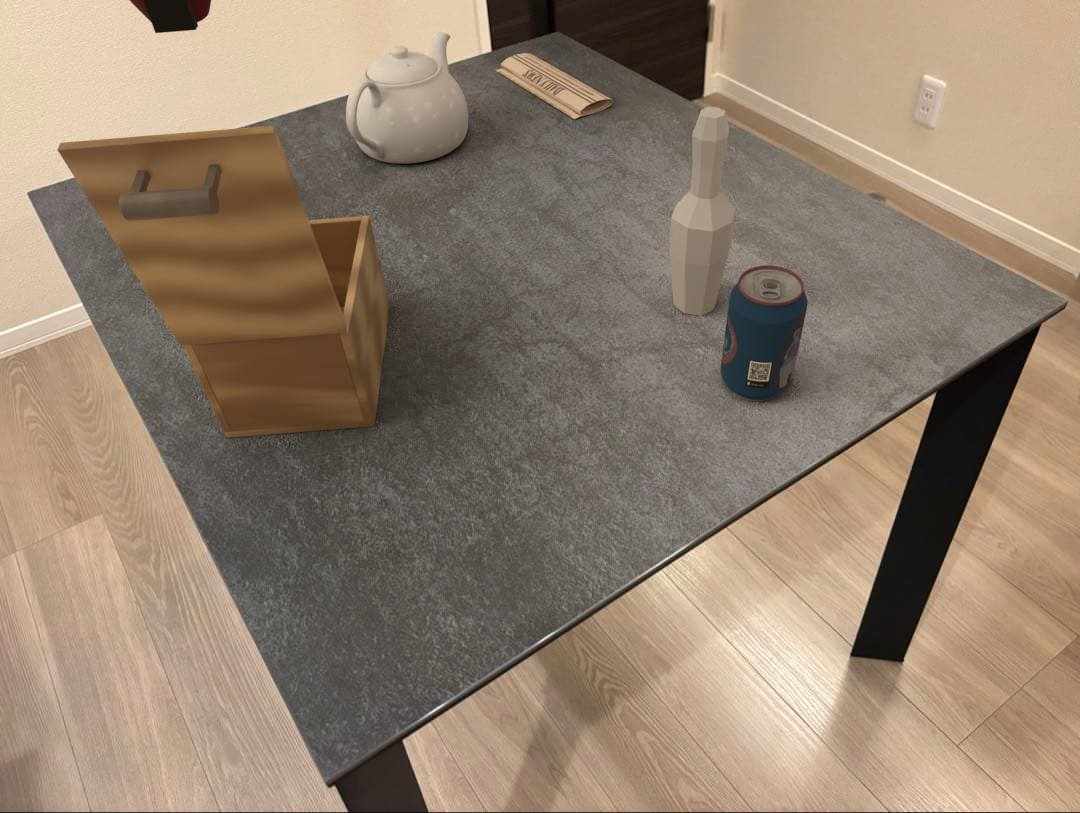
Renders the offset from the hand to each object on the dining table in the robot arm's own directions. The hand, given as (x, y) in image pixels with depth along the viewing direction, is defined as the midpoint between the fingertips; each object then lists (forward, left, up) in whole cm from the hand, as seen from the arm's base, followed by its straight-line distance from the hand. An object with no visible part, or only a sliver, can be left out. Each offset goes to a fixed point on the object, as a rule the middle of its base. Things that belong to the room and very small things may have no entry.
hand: (193, 6), depth 59 cm
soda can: (+8, -43, -38) cm, 58 cm away
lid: (-7, -1, -15) cm, 17 cm away
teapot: (+53, +9, -38) cm, 66 cm away
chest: (+3, +2, -38) cm, 38 cm away
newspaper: (+74, -8, -38) cm, 83 cm away
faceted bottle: (+20, -36, -38) cm, 56 cm away
